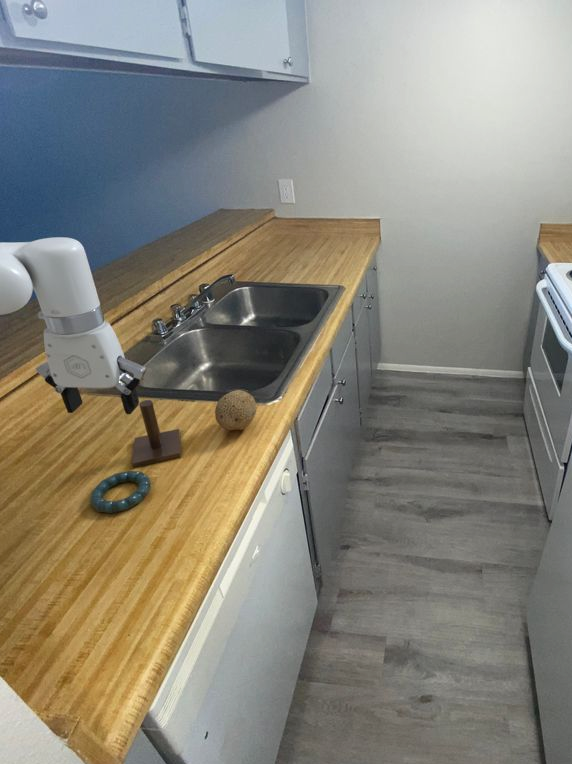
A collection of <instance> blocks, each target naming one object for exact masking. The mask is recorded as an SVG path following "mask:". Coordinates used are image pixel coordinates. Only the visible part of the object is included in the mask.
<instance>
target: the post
mask: <svg viewBox="0 0 572 764" xmlns="http://www.w3.org/2000/svg"><path fill="white" fill-rule="evenodd" d="M138 407H139V410H140V412H141V413H140V414H141V416H142V421H143V425H144V428H145V432H146V435H142V436H137V437H134V441H133V451H132V462H131V464H132V467H133V468H139V467H142V466H148V465H151V464H156V463H161V462H165V461H170V460H174V459H179V458H182V453H181V452H182V451H181V432H180V429H179V428H176V429H171V430H167V431H162V432H161V430H160V427H159V422H158V419H157V415H156V411H155V407H154V403H153V400H150V399H145V400H142V401H140V402H139V404H138Z"/></svg>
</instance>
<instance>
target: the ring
mask: <svg viewBox="0 0 572 764" xmlns="http://www.w3.org/2000/svg"><path fill="white" fill-rule="evenodd" d="M126 482H132V483H136V484H137V486H138V488H137V489H136V490H135V491H134V492H133V493H132V494H130V495H128V496H126V497H125V498H122V499H118V500H114V501H112V500H106V499H105V498H104V496H105V493H106V492H107V491H108V490H109V489H111V488H113V487H114V486H116V485H119V484H123V483H126ZM150 491H151V478H150V477H149V476H148V475H147V474H145V473H144V472H142V471H137V470H126V471H121V472H117V473H114V474H112V475H110V476H108V477H106V478H104V479H102V480H101V481H100V482H99V483H97V485H96V486H95V487H94V488H93V489H92V491H91V492H90V499H89V504H90V505H91V506H92V507H93V508H94V509H95V510H96V511H97V512H99V513H109V514H114V513H119V512H122V511H126V510H127V511H128V510H129V509H131V508H132V507H135V506H136V505H138V504H139V503H141V502H143V500H144V498H145V497H146V496H147V495H148V494H149V493H150Z"/></svg>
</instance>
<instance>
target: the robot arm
mask: <svg viewBox="0 0 572 764" xmlns="http://www.w3.org/2000/svg"><path fill="white" fill-rule="evenodd" d="M33 291H34V293H35V296H36V299H37V301H38V304H39V307H40V311H38V312H37V318H38V319H39V320H44V322H45V324H46V328H44V330H43V344H44V345H43V346H44V351H45V357H46V361H44V362H42V363H41V364H39V365H38V366H37V367H35V371H36V372H37V373H38V374H39V376H40V377H42V378H44V382H45V383H46V384H47V385H49V386H51V387H52V388H54V391H55V393H57V394H60V396H61V398H62V402H63V403H64V406H65V409H66V411H67V413H68V414H73V413H74V412H75V411H76V410H78V409H79V408H80V407H81V406H82V405H83V399H82V396H81V392H80V390H79V389H111V388H116V389H117V390H118V391H120V392H121V395H120V399H121V403H122V407H123V410H124V414H126V415H132V413H133V412H134V411H135V410H136V408H137V407H139V404H140V400H139V396H138V392H137V389H136V388H137V387H138V386H139V385H140V384H141V383H142V381H143V380H144V377H145V374H146V371H147V368H146V366H145V365H141V364H139V363H137V362H134V361H132V360H129V359H128V358H126V357H125V354H124V350H123V348H122V346H121V343H120V340H119V338H118V337H117V334H116V332H115V330H114V329H113V327H112V325H111V324H110V322H108V321H106V319H105V316H104V313H103V309H102V306H101V302H100V299H99V295H98V292H97V288H96V285H95V281H94V277H93V274H92V271H91V267H90V263H89V260H88V257H87V254H86V250H85V248H84V246H83V244H82V243H81V242H80V241H79V240H77V239H75V238H72V237H62V236H61V237H60V236H57V237H46V238H40V239H36V240H32V241H24V242H23V241H21V242H20V241H18V242H4V241H3V242H2V241H1V242H0V316H3V315H7V314H12V313H15V312H17V311H19V310H21V309H22V308H24V306H25V305H27V304H28V302H29V301H30V299H31V298H32V295H33ZM128 372H129V373H131V374H132V376H130V375H129V374H128Z"/></svg>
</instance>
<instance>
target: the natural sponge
mask: <svg viewBox="0 0 572 764" xmlns="http://www.w3.org/2000/svg"><path fill="white" fill-rule="evenodd" d="M257 408H258V407H257V403H256V399H255V398H254V396H253V395H252V394H250V393H249V392H247V391H244V390H240V389H236V390H233V391H232V390H231V391H229V392H228V393H226V394H225V395H223V396H222V397H221V398H220V399H218V401H217V403H216V405H215V409H214V417H215V421H216V423H217V424H218V425H219V426H220V427H221V428H222V429H224V430H226V431H233V430H236V431H241V430H245V429H247V428H248V427H249V426H250V424H251V423H252V422H253V420H254V418H255V417H256V413H257Z"/></svg>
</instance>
